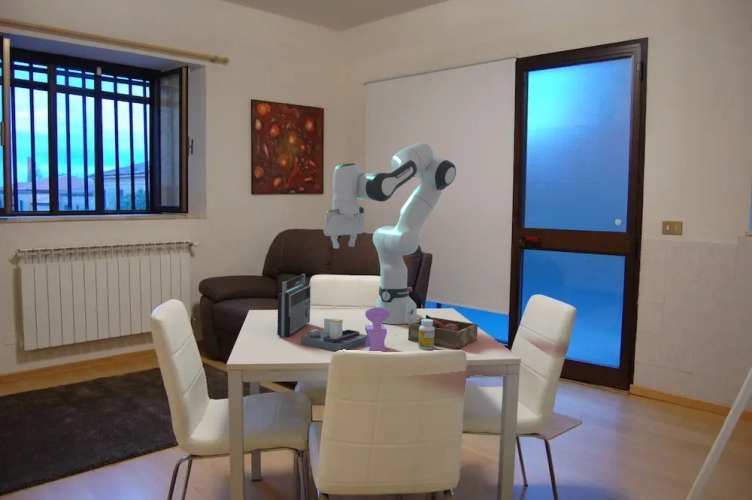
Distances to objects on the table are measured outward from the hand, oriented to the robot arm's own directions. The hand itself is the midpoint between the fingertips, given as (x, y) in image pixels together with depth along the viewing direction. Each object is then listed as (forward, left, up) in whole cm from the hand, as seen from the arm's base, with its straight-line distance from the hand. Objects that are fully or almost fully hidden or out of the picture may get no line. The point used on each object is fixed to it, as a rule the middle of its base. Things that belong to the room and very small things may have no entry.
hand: (343, 247), depth 217 cm
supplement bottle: (-7, +31, -33) cm, 46 cm away
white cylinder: (+12, +6, -30) cm, 33 cm away
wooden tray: (-20, +31, -33) cm, 50 cm away
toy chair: (+5, +18, -33) cm, 38 cm away
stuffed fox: (-21, +30, -33) cm, 49 cm away
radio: (+2, -21, -33) cm, 39 cm away
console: (+8, +3, -33) cm, 34 cm away
